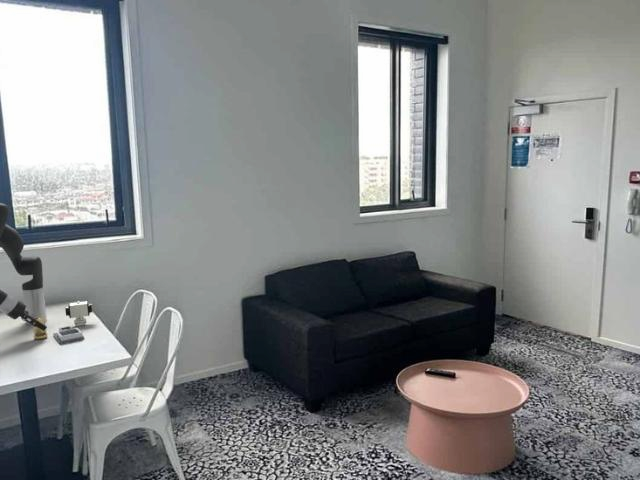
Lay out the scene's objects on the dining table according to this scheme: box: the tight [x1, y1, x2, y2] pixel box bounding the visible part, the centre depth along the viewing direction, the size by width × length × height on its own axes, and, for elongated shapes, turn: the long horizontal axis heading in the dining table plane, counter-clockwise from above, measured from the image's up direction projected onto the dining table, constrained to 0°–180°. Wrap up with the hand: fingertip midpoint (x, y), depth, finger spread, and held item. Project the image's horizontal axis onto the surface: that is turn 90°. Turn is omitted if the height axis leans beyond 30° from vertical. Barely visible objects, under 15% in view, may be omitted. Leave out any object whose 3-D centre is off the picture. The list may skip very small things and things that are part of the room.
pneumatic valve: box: [64, 300, 93, 327], centre depth 256 cm, size 6×12×12 cm, turn 114°
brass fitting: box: [32, 317, 48, 340], centre depth 237 cm, size 5×5×9 cm
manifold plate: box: [52, 325, 85, 345], centre depth 237 cm, size 15×10×3 cm, turn 37°
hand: (44, 327), depth 238 cm, fingers closed on brass fitting, 4 cm apart
